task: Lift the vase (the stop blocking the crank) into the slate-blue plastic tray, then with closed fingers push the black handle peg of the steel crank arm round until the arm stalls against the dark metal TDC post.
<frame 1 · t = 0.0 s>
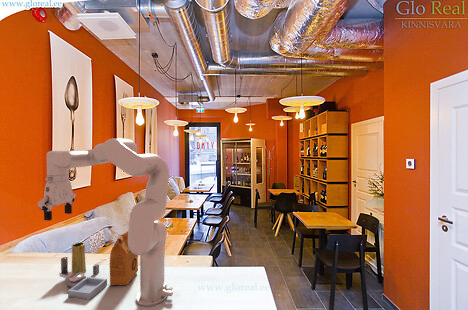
hand: (58, 216, 99), 31 cm above the table, fingers open, 9 cm apart
tdc post: (96, 273, 110), on the table
vase: (78, 273, 110), on the table
coffee package: (124, 279, 105), on the table
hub: (76, 283, 101), on the table
tray: (88, 290, 96), on the table
crank: (71, 268, 102), point 6 cm above the table, hinge at -10.0°
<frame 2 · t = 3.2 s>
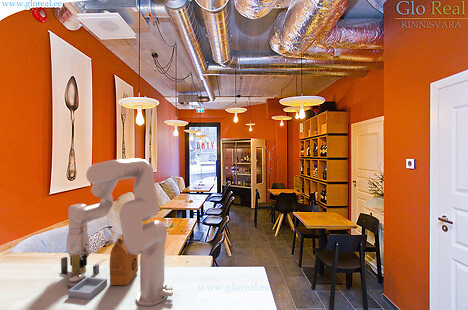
hand: (78, 265, 110), 4 cm above the table, fingers closed on vase, 5 cm apart
vase: (78, 273, 110), on the table, touching gripper
everything else where it was.
when the fingers open (6 cm above the table, at t = 9.1 s): vase drops 1 cm, resting on tray.
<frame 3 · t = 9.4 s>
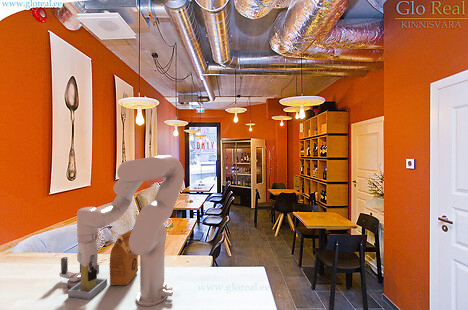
hand: (88, 275, 96), 7 cm above the table, fingers open, 9 cm apart
vase: (88, 289, 96), point 1 cm above the table, touching tray
everything else where it was.
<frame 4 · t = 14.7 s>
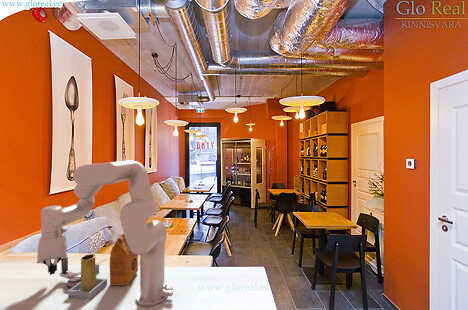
hand: (52, 272, 102), 5 cm above the table, fingers closed
crank: (71, 268, 102), point 6 cm above the table, hinge at -11.1°, touching gripper
everything else where it was.
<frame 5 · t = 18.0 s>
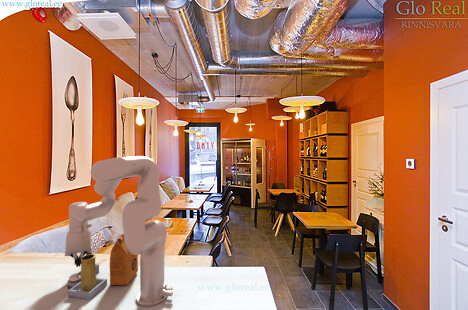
hand: (78, 265, 107), 5 cm above the table, fingers closed
crank: (82, 266, 104), point 6 cm above the table, hinge at -84.7°, touching gripper
everything else where it was.
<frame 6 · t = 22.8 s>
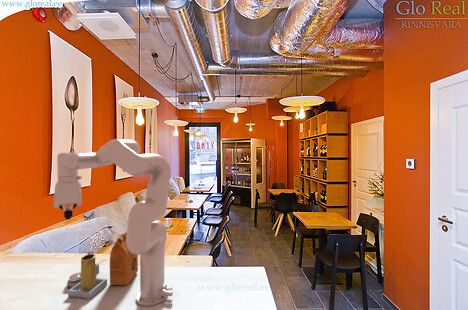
hand: (68, 218, 103), 29 cm above the table, fingers closed
crank: (82, 266, 104), point 6 cm above the table, hinge at -90.0°, touching tdc post
everything else where it was.
at the end: vase 0.2 cm off-centre on the tray, point 0.6 cm above the tray's base; vase tilted 0°; crank at -90° (first picture: -10°) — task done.
